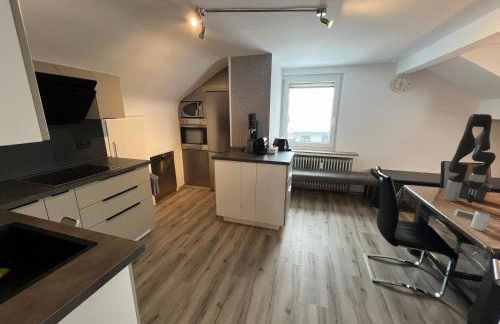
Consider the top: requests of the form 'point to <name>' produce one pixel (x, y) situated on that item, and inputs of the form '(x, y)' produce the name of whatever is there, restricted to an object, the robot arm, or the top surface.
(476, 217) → the can
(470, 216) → the tile
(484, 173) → the robot arm
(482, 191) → the storage bin
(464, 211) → the mat
